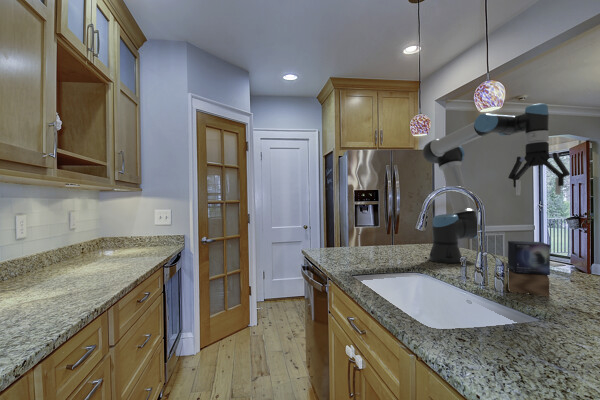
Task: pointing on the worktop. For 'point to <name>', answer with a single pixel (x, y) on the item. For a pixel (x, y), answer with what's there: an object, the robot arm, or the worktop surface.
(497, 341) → the worktop surface
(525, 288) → the walnut plinth
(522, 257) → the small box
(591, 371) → the worktop surface
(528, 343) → the worktop surface
